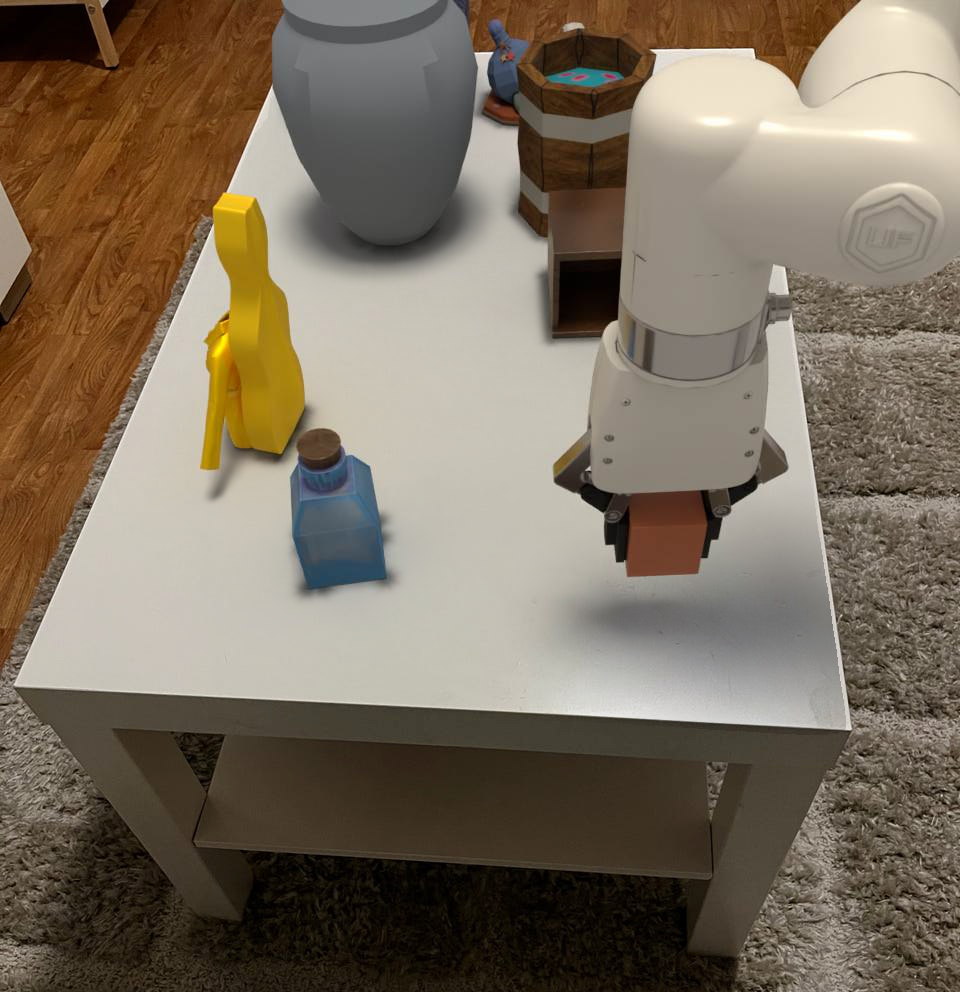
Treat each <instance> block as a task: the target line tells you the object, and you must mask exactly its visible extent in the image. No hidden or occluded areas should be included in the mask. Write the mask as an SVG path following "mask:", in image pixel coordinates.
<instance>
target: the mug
mask: <svg viewBox="0 0 960 992" xmlns="http://www.w3.org/2000/svg"><path fill="white" fill-rule="evenodd" d="M529 43H530V45H529V46H528V48H527V49H526V51H525V52H524V54H523V55H522V57H521V58H520V60H519V61H518V63H517V64H516V69H517V77H518V85H519V114H520V115H519V126H518V129H517V143H516V144H517V153H518V161H519V198H518V200H519V201H518V206H517V213H518V214H519V215H520V216H521V218H523V219H524V220H525V221H526V222H527V224H528V225H529V226H530V227H531V228H532V229H533V230H534V231H535V232H536V233H537V235H538V236H540V237H543V238H544V237H545V238H548V192H549V191H561V190H582V189H604V188H625V187H626V181H627V165H628V149H629V133H630V124H631V115H632V110H633V106H634V103H635V100H636V98H637V96H638V94H639V92H640V90H641V88H642V87H643V86H644V84H645V83H646V82H647V81H648V80H649V79H650V78H651V76H653V75H654V69H655V65H656V62H657V61H656V59H657V54H656V53H655V52H654V51H653V50H651V49H650V47H647V46H646V45H645V44H644V43H642V42H641V41H639V40H638V39H637V38H636V37H634V36H633V35H631V33H628V32H618V31H610V30H599V29H592V28H591V29H590V28H585V26H584V24H583V23H582V22H575V21H573V22H569V23H565V24H564V25H563V26H562V27H561V32H559V33H555V34H551V35H548V36H544V37H540V38H537V39H533V40H531V42H529Z"/></svg>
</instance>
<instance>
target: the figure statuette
mask: <svg viewBox="0 0 960 992" xmlns="http://www.w3.org/2000/svg"><path fill="white" fill-rule="evenodd" d="M212 219H213V235H214V246H215V250H216V254H217V257H218V259H219V262H220V264H221V266H222V268H223V269H224V271H225V273H226V275H227V277H228V279H229V285H230V294H229V296H230V297H229V309H228V310H227V311H226V312H225V313H224V314H223V315H222V316H221V317H220V318H219V319H218V320H217V323H216V324H215V325H214V328H212V329H211V330H209V331H208V333H207V337H205V338H204V340H203V341H202V342H203V343H205V344H206V345H207V350H206V356H205V357H206V358H205V368H206V370H207V372H208V373H209V382H208V398H207V399H208V400H207V409H206V417H205V428H204V437H203V445H202V453H201V460H200V466H199V468H200V470H204V471H215V470H216V471H217V470H220V465H221V464H220V463H221V451H222V441H223V433H224V424H226V428H227V431H228V435H229V437H230V439H231V441H232V443H233V445H234V447H236V448H239V449H251V448H252V449H254V450H257V451H262V452H266V453H267V452H268V453H272V454H277V455H282V454H283V453H284V451H285V448H286V446H287V444H288V443H289V440H290V439H291V437H292V435H293V433H294V431H295V429H296V428H297V425H298V423H299V421H300V418H301V417H302V414H303V412H304V409H305V405H306V394H305V381H304V374H303V370H302V366H301V362H300V359H299V356H298V355H297V352H296V350H295V348H294V346H293V343H292V342H293V341H292V337H291V328H290V313H289V305H288V299H287V296H286V294H285V292H284V291H283V289H281V287H279V285H277V284H276V283H275V281H274V280H273V279H272V277H271V275H270V270H269V240H268V229H267V223H266V220H265V216H264V214H263V211H262V209H261V206H260V203H259V200H258V199H257V198H256V197H255V196H249V195H243V194H236V193H231V192H222V194H221V196H220V197H219V199H218V201H217V202H216V203H215V204H214V206H213V207H212Z"/></svg>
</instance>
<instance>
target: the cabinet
mask: <svg viewBox="0 0 960 992" xmlns="http://www.w3.org/2000/svg"><path fill="white" fill-rule="evenodd" d="M625 197H626V187H625V188H604V189H582V190H561V191H549V192H548V237H547V259H546V260H547V261H546V262H547V263H546V264H547V268H546V269H547V271H546V278H547V288H548V290H547V291H548V301H549V303H548V304H549V315H550V325H551V337H552V339H561V338H562V339H566V338H567V339H568V338H585V337H586V338H588V337H602V335H603V333H604V330H605V329H606V327H607V326H608V325H609V324H610V323H611V322H613V321H617V320H618V310H619V294H620V279H621V264H622V248H623V229H624V213H625Z"/></svg>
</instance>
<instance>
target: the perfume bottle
mask: <svg viewBox="0 0 960 992" xmlns="http://www.w3.org/2000/svg"><path fill="white" fill-rule="evenodd" d="M341 442H342V440H341V437H340V435H339V434H338V432H336V431H335V430H332V429H330V428H327V427H326V428H325V427H317V428H313V429H309V430H308V431H305V432H304V433H302V434H301V436H299V437H298V439H297V440H296V443H295V444H296V445H295V448H296V451H297V453H298V454H297V459H296V460H297V463H296V466H295V467H294V470H293V471H292V473H291V474H290V476H289V486H290V509H291V533H292V534H291V535H292V536H291V537H292V540H293V543H294V546H295V550H296V553H297V556H298V559H299V563H300V566H301V570H302V573H303V576H304V579H305V582H306V586H307V589H308V590H312V589H318V588H327V587H333V586H341V585H349V584H354V583H362V582H370V581H377V580H384V579H387V578H388V577H387V568H386V558H385V550H384V542H383V540H384V539H383V533H382V524H381V517H380V511H379V507H378V501H377V496H376V491H375V485H374V480H373V475H372V474H373V473H372V470H371V466H370V465H369V464H367V463H366V462H364V461H362V460H361V459H360V458H358V457H357V456H355V455H353V454H347V453H346V450H345V447H344V446H343V445H342V443H341Z"/></svg>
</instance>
